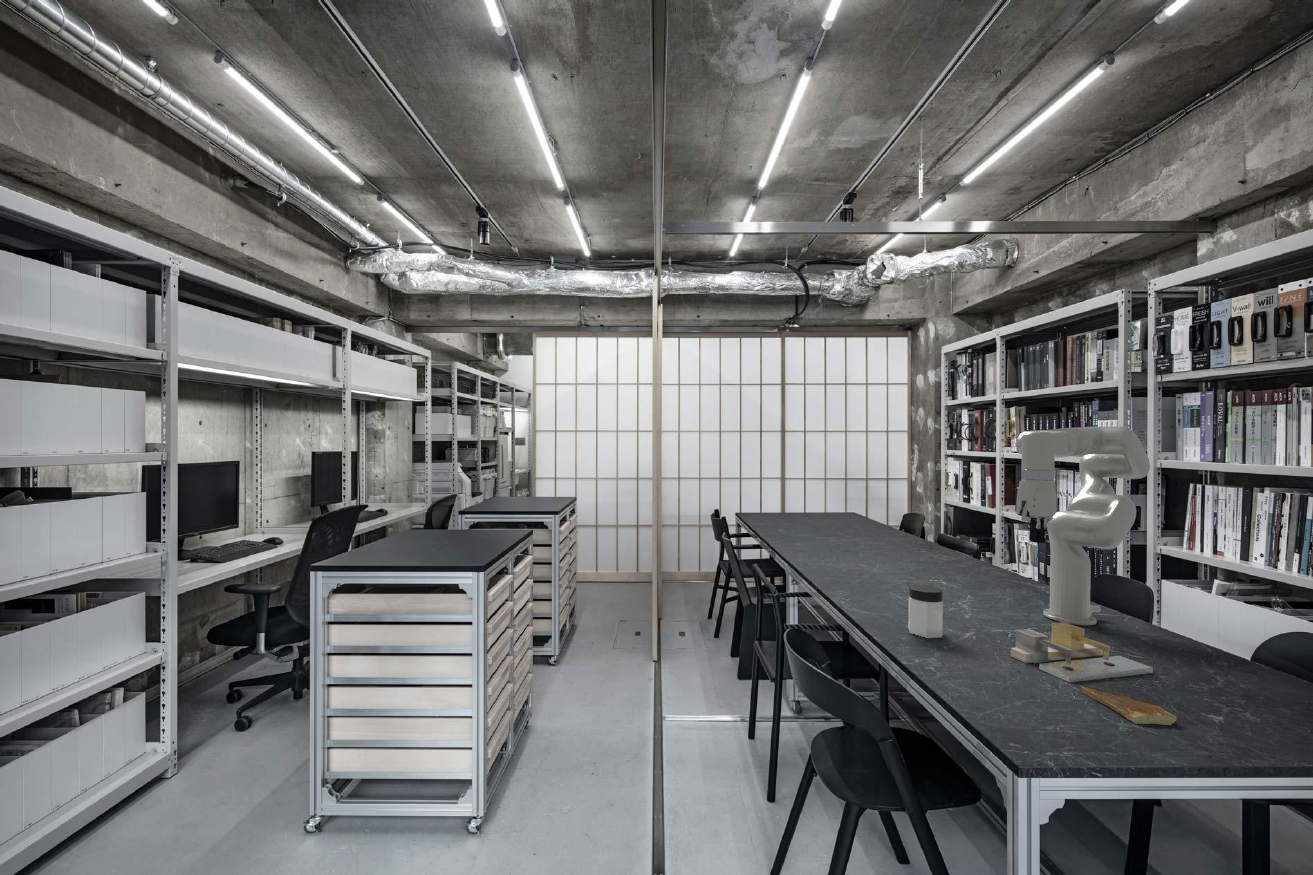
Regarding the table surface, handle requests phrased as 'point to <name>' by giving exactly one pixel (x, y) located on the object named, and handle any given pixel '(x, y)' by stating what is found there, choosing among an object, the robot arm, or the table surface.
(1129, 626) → the table surface
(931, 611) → the jar
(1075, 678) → the bolt plate
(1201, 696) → the table surface
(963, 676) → the table surface
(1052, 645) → the divider rail
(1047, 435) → the robot arm
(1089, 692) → the shard
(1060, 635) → the sliding leg
